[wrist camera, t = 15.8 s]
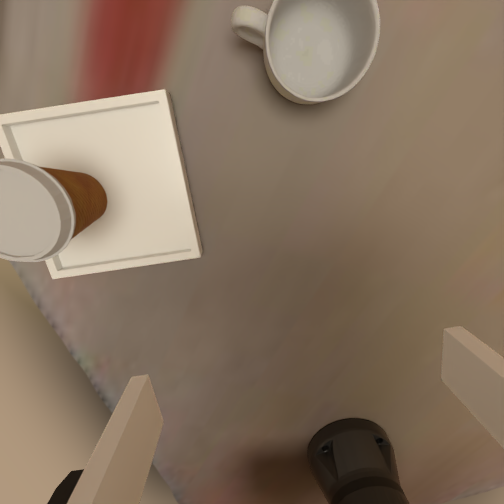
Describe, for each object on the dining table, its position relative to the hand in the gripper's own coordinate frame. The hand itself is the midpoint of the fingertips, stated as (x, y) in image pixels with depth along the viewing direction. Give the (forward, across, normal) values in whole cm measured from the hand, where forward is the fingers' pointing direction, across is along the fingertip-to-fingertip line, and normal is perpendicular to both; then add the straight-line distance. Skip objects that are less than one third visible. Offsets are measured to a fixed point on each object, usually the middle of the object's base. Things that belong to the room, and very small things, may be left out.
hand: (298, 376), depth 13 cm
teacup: (+28, -7, -20) cm, 36 cm away
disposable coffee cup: (+27, +22, -8) cm, 36 cm away
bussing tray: (+28, +18, -8) cm, 35 cm away
